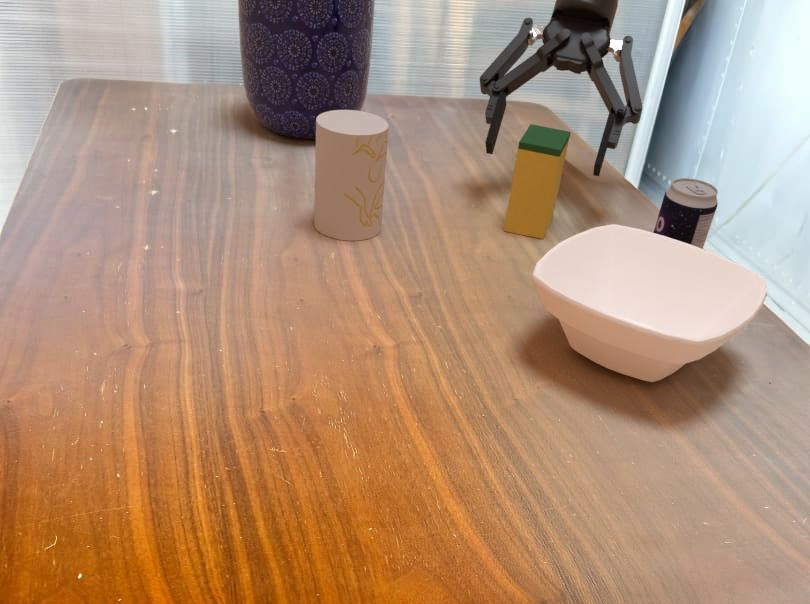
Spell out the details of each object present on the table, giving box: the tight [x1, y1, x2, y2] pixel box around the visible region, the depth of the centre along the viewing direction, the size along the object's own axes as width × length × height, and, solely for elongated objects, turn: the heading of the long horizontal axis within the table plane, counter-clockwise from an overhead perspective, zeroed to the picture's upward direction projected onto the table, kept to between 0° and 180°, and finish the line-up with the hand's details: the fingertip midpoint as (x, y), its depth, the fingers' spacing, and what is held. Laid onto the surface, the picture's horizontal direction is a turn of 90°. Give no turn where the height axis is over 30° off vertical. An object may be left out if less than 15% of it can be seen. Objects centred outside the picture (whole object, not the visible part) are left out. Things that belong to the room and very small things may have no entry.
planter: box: [237, 0, 376, 140], centre depth 124 cm, size 18×18×21 cm
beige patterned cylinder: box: [313, 110, 390, 242], centre depth 103 cm, size 8×8×12 cm
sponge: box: [503, 123, 571, 240], centre depth 108 cm, size 5×7×11 cm
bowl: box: [530, 223, 768, 383], centre depth 88 cm, size 21×21×9 cm
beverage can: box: [652, 177, 719, 249], centre depth 98 cm, size 6×6×12 cm
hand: (542, 159), depth 108 cm, fingers open, 13 cm apart
